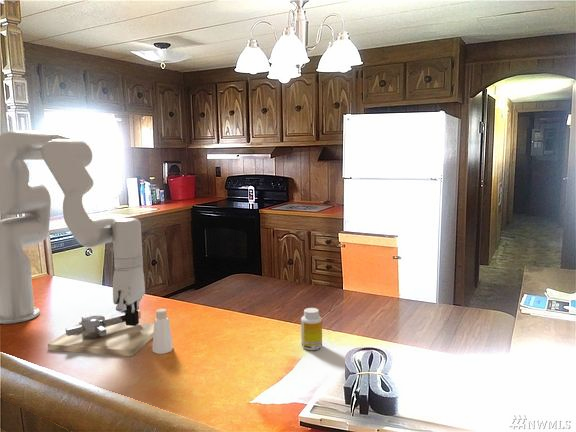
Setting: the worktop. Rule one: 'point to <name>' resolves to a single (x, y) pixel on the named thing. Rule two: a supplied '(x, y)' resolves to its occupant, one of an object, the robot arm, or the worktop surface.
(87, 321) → the capstan
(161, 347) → the pepper shaker
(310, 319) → the supplement bottle
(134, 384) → the worktop surface
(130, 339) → the wooden flat board
